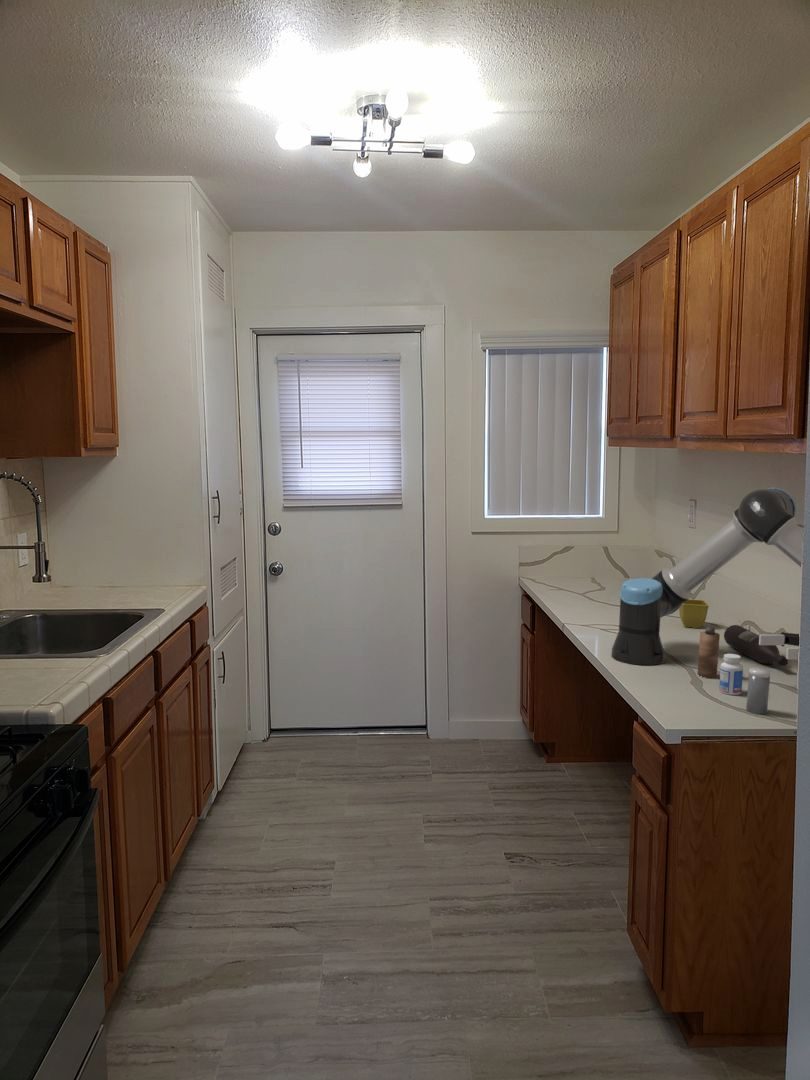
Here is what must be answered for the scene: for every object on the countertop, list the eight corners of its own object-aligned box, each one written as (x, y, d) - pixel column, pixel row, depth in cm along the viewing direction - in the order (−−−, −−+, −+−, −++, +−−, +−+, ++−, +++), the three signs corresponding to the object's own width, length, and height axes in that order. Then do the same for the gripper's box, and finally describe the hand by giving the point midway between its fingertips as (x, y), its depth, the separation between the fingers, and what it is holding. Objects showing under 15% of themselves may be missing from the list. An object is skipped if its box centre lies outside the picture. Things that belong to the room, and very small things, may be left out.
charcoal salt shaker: (749, 713, 182) (752, 672, 180) (743, 707, 186) (746, 666, 185) (769, 714, 181) (773, 673, 180) (763, 708, 186) (766, 667, 184)
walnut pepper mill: (699, 677, 209) (703, 629, 208) (695, 672, 214) (698, 625, 212) (718, 678, 209) (722, 630, 207) (714, 673, 214) (717, 626, 212)
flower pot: (707, 630, 264) (708, 605, 263) (680, 628, 266) (682, 603, 265) (702, 624, 273) (704, 600, 272) (676, 623, 274) (678, 598, 273)
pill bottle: (740, 690, 199) (743, 654, 198) (742, 696, 194) (745, 659, 193) (718, 687, 201) (720, 652, 200) (719, 694, 196) (722, 657, 195)
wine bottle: (748, 631, 244) (800, 657, 214) (737, 649, 244) (787, 678, 214) (730, 620, 243) (780, 645, 213) (719, 639, 244) (767, 666, 214)
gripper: (883, 674, 185) (798, 674, 184) (824, 648, 210) (748, 648, 209) (886, 644, 184) (800, 644, 183) (826, 621, 209) (750, 621, 208)
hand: (772, 646), depth 196 cm, fingers open, 13 cm apart
